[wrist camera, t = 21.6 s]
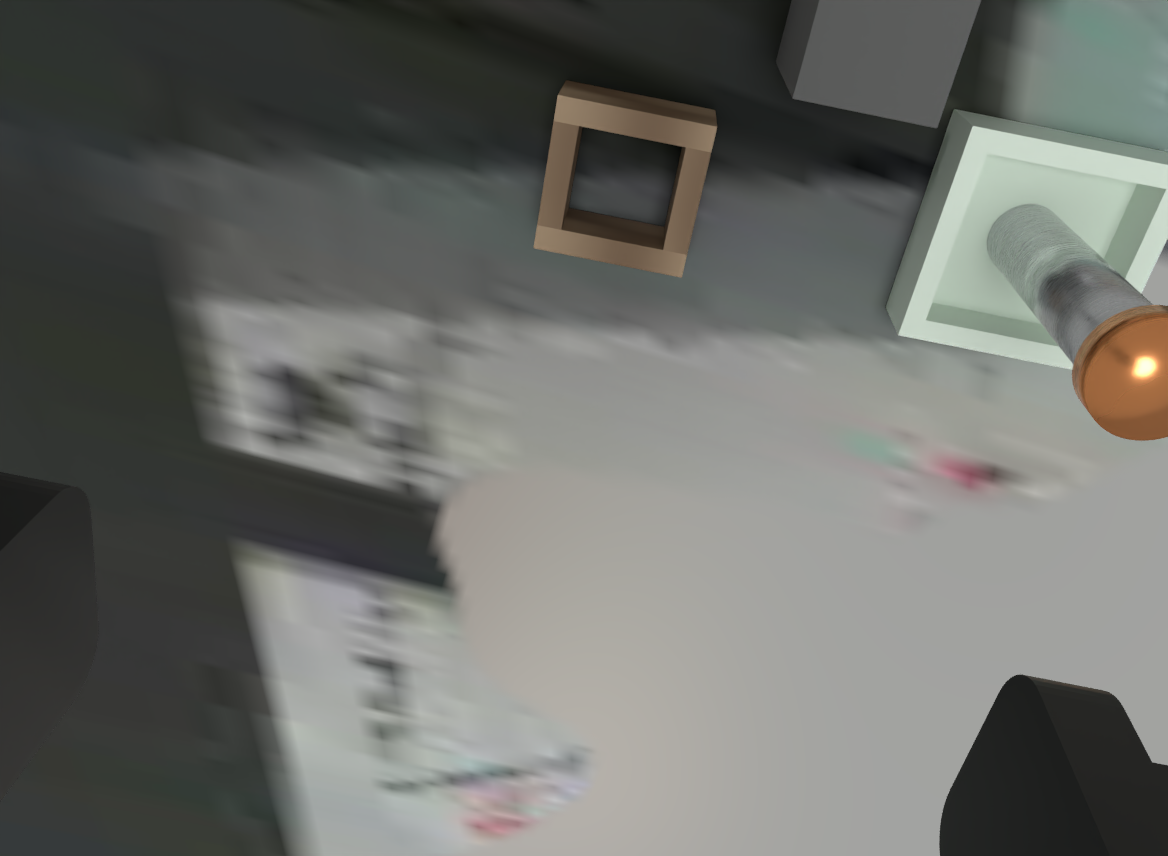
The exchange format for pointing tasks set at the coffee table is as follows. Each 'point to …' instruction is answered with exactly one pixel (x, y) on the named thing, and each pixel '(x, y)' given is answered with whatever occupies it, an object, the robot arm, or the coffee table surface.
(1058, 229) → the pin
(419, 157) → the coffee table surface
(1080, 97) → the coffee table surface
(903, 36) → the block
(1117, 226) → the tray
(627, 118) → the pin socket
